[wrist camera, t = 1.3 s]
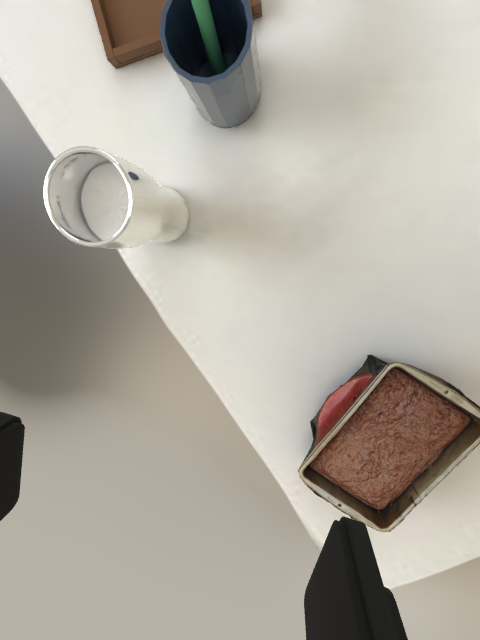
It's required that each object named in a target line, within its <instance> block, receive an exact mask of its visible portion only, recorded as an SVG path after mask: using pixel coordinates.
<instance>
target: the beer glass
mask: <svg viewBox="0 0 480 640" xmlns="http://www.w3.org/2000/svg"><path fill="white" fill-rule="evenodd" d="M44 201H45V206H46V210H47V212H48V215H49V217H50V219H51V221H52V222H53V224H54V225H55V227H56V228H57V229H58V230H59V231H60V232H61V233H62V234H63V235H64V236H65V237H66V238H68V239H69V240H71V241H73V242H75V243H77V244H80V245H83V246H88V247H100V248H110V249H125V248H133V247H138V246H141V245H144V244H146V243H148V242H150V241H155V242H159V243H169V242H172V241H175V240H176V239H178V238H179V237H180V236H181V235H182V234H183V233H184V231H185V230H186V228H187V225H188V220H189V212H188V207H187V204H186V202H185V200H184V199H183V197H182V196H181V195H180V194H179V193H178V192H177V191H175V190H173V189H171V188H169V187H165V186H160V185H159V184H158V183H157V181H156V180H155V179H154V178H153V177H152V176H150V175H149V174H148V173H147V172H146V171H145V170H143V169H142V168H140V167H139V166H137V165H136V164H134V163H132V162H130V161H128V160H126V159H124V158H121V157H119V156H116V155H113V154H110V153H107V152H105V151H103V150H100V149H98V148H94V147H89V146H79V147H74V148H71V149H68V150H66V151H64V152H63V153H61V154H60V155H59V156H58V157H57V158H56V159H55V160H54V161H53V163H52V164H51V166H50V167H49V169H48V172H47V174H46V177H45V181H44Z"/></svg>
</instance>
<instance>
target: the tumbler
mask: <svg viewBox="0 0 480 640" xmlns="http://www.w3.org/2000/svg"><path fill="white" fill-rule="evenodd" d="M208 1H209V5H210V9H211V13H212V16H213V20H214V24H215V28H216V32H217V36H218V40H219V44H220V47H221V51H222V55H223V59H224V63H225V67H226V71H225V72H224V73H221V74H218V75H215V76H214V75H213V72H212V68H211V65H210V62H209V59H208V55H207V52H206V49H205V45H204V42H203V39H202V35H201V32H200V29H199V25H198V22H197V19H196V15H195V12H194V9H193V6H192V2H191V0H167V1H166V3H165V6H164V8H163V10H162V13H161V23H160V39H161V43H162V47H163V51H164V55H165V57H166V59H167V60H168V62H169V63H170V65H171V67H172V68H173V70H174V72H175V73H176V75H177V76H178V78H179V80H180V81H181V83H182V85H183V86H184V88H185V89H186V91H187V93H188V94H189V96H190V98H191V99H192V101H193V102H194V104H195V106H196V107H197V109H198V110H199V112H200V113H201V115H202V116H203V117H204V118H205V119H206V120H207V121H208V122H209V123H211V124H213V125H215V126H217V127H221V128H231V127H235V126H238V125H240V124H242V123H243V122H245V121H246V120H247V119H248V118H249V117H250V116H251V115H252V113H253V112H254V110H255V108H256V106H257V104H258V101H259V97H260V86H261V84H260V75H259V67H258V58H257V50H256V42H255V33H254V25H253V19H252V14H251V9H250V3H249V1H248V0H208Z"/></svg>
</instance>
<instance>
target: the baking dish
mask: <svg viewBox="0 0 480 640" xmlns="http://www.w3.org/2000/svg"><path fill="white" fill-rule="evenodd" d="M310 423H311V428H312V433H313V438H314V440H313V444H312V447H311V448H310V450H309V452H308V454H307V456H306V458H305V459H304V461H303V463H302V465H301V466H300V468H299V470H298V472H299V475H300V478H301V479H302V480H303V481H304V483H305V484H306V485H307V487H309V488H310V489H311V490H312V491H313V492H314V493H315V494H316V495H318V496H319V497H321V498H323V499H325V500H326V501H328V502H330V503H331V504H332V505H333V506H335V507H336V508H337V509H339V510H340V511H342V512H343V513H345V514H347V515H349V516H350V517H351V518H352V519H355V520H357V521H360V522H363V523H364V524H366V525H367V526H369V527H371V528H373V529H375V530H377V531H381V532H390V531H391V530H392V529H394V528H395V527H396V526H397V525H399V524H400V523H401V522H402V521H403V520H404V518H405V517H406V516H407V515H408V514H409V513H410V512H411V511H412V509H413V508H414V507H415V506H416V505H417V504H418V503H420V502H421V501H422V500H423V498H424V497H426V496H427V495H428V493H429V492H430V491H431V490H432V489H433V488H434V487H435V486H436V485H438V484H439V483H440V481H442V480H443V479H444V478H445V477H446V476H447V475H448V474H449V473H450V472H451V471H452V470H453V469H454V467H456V466H457V465H458V464H459V463H460V462H461V461H462V460H463V459H464V458H465V457H466V456H467V455H468V454H469V453H470V452H471V451H472V450H473V449H475V448H476V447H477V446H478V445H479V444H480V407H479V406H478V405H477V404H476V403H474V402H473V401H471V400H470V399H469V398H467V397H466V396H465V395H464V394H463V393H462V392H461V391H460V390H458V389H457V388H455V387H454V386H452V385H451V384H449V383H448V382H446V381H444V380H443V379H441V378H439V377H437V376H435V375H432V374H430V373H427V372H425V371H423V370H420V369H418V368H416V367H413V366H411V365H408V364H403V363H391V364H388V363H386V362H384V361H382V360H380V359H378V358H376V357H374V356H372V355H368V358H367V360H366V361H365V363H364V364H363V366H362V367H361V368H360V369H359V370H358V371H357V372H356V373H355V374H354V375H353V376H352V377H351V378H350V379H349V380H348V381H347V382H346V383H345V384H344V385H341V386H340V387H339V388H338V389H337V390H336V391H334V392H333V393H332V394H330V395H329V396H328V398H327V400H326V401H325V403H324V404H323V406H322V407H321V409H320V410H319V412H318V413H317V415H316V416H315V417H314V418H313V419H312V421H311V422H310Z"/></svg>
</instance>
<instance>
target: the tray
mask: <svg viewBox="0 0 480 640" xmlns="http://www.w3.org/2000/svg"><path fill="white" fill-rule="evenodd" d="M166 1H167V0H91V2H92V6H93V9H94V13H95V17H96V20H97V24H98V27H99V31H100V35H101V38H102V42H103V45H104V49H105V52H106V56H107V60H108V61H109V62H110V63H111V64H112V65H113V66H114V67H115V68H118V67H121V66H124V65H127V64H130V63H132V62H135V61H138V60H141V59H143V58H146V57H149V56H152V55H155V54H157V53H160V52H163V47H162V43H161V39H160V23H161V13H162V10H163V8H164V6H165V3H166ZM248 1H249V3H250V9H251V14H252V19H255V18H258V17H260V16H262V11H261V1H260V0H248Z"/></svg>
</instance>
